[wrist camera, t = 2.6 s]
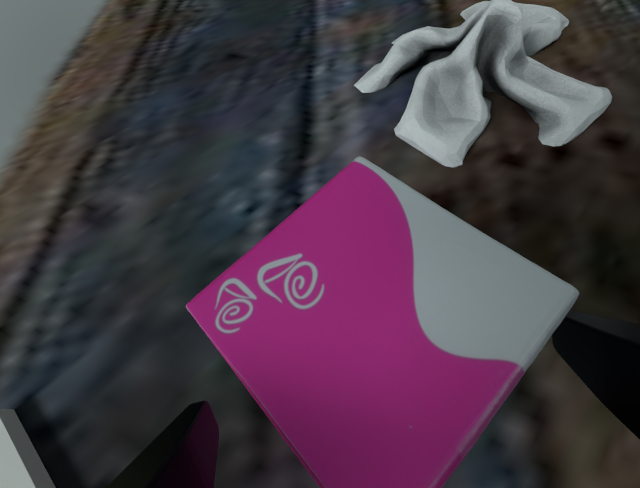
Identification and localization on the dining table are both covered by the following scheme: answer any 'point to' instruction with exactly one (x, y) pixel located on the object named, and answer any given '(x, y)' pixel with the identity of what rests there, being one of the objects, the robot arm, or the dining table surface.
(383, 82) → the cloth
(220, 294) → the supplement box
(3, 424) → the mat
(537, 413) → the dining table surface
